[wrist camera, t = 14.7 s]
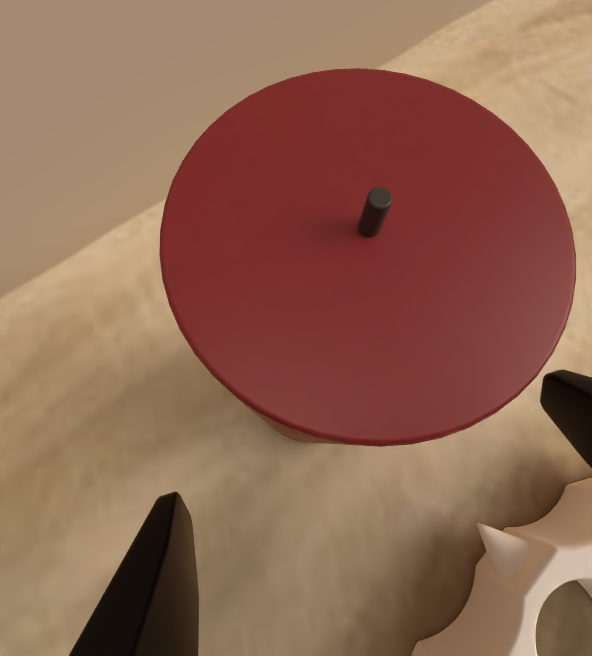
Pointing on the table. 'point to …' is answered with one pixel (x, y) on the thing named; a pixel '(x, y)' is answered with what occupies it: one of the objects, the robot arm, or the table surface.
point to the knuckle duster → (520, 580)
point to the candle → (367, 258)
